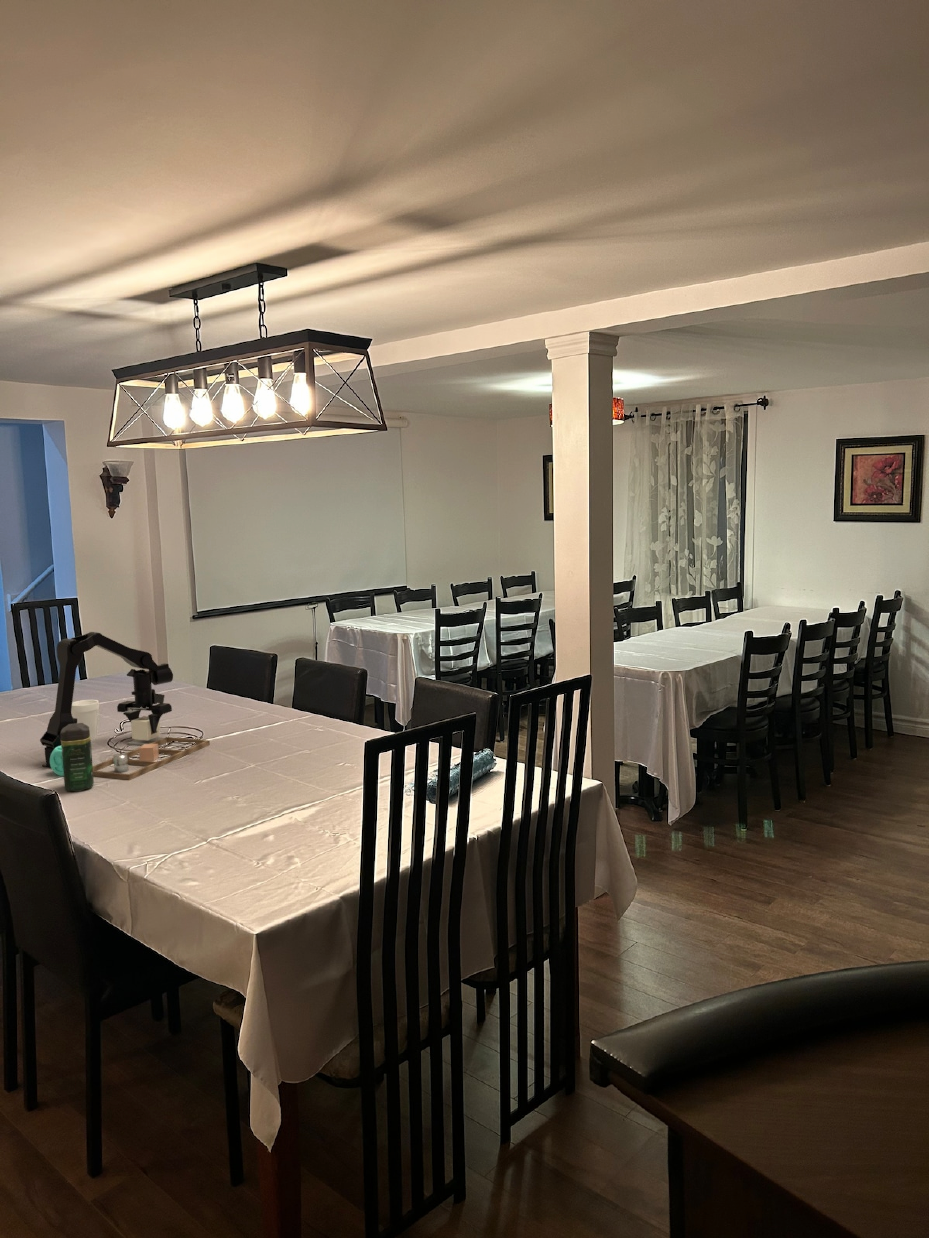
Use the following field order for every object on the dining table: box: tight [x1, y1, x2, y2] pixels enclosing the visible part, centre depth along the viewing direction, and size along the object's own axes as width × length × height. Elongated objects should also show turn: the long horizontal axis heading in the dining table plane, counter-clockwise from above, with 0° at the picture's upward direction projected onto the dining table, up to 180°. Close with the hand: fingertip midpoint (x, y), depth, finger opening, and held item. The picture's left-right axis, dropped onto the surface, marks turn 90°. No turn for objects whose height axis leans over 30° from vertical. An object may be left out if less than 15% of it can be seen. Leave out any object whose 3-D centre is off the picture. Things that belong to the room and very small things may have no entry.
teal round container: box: [50, 746, 64, 777], centre depth 277 cm, size 8×8×8 cm
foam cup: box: [71, 699, 100, 741], centre depth 316 cm, size 10×9×13 cm
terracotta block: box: [138, 744, 160, 762], centre depth 289 cm, size 4×4×4 cm
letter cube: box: [130, 715, 162, 740], centre depth 309 cm, size 6×7×7 cm
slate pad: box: [126, 736, 164, 747], centre depth 310 cm, size 9×9×1 cm
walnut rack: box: [93, 736, 211, 781], centre depth 289 cm, size 39×18×2 cm, turn 160°
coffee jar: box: [60, 723, 94, 792], centre depth 261 cm, size 10×8×19 cm
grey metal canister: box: [112, 752, 129, 774], centre depth 277 cm, size 4×4×5 cm
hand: (146, 732), depth 309 cm, fingers closed on letter cube, 6 cm apart
